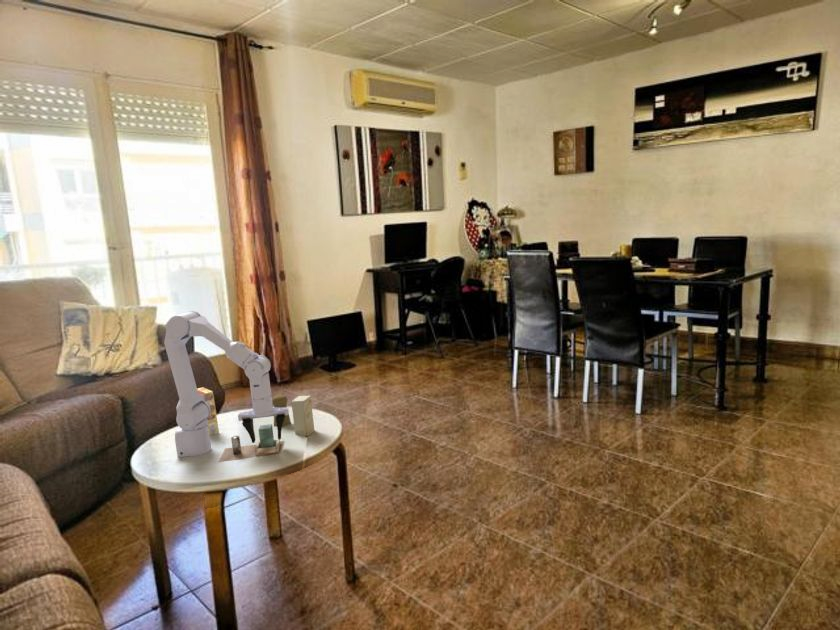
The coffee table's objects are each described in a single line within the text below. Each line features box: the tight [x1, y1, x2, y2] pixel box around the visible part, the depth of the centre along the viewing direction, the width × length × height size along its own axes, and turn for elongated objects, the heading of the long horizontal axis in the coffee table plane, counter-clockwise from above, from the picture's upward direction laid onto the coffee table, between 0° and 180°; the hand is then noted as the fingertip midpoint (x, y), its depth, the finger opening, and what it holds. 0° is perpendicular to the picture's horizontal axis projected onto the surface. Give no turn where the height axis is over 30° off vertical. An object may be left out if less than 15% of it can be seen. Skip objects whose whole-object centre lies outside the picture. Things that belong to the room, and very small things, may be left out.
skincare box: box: [290, 395, 315, 438], centre depth 178 cm, size 6×4×12 cm
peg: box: [258, 423, 275, 448], centre depth 165 cm, size 4×4×7 cm
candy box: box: [197, 387, 220, 436], centre depth 184 cm, size 9×4×15 cm, turn 44°
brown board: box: [218, 438, 285, 463], centre depth 164 cm, size 18×10×2 cm, turn 100°
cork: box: [272, 394, 292, 428], centre depth 186 cm, size 6×6×11 cm
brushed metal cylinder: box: [230, 435, 242, 455], centre depth 163 cm, size 2×2×5 cm
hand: (266, 439), depth 165 cm, fingers open, 7 cm apart
